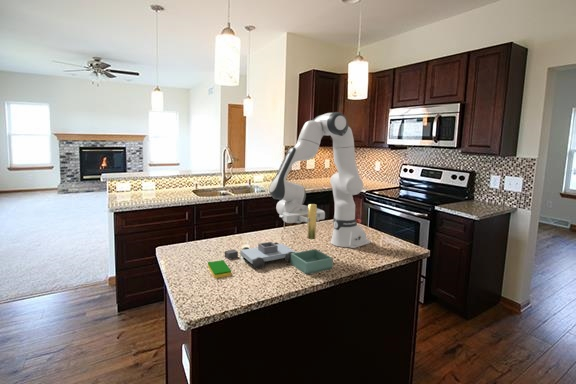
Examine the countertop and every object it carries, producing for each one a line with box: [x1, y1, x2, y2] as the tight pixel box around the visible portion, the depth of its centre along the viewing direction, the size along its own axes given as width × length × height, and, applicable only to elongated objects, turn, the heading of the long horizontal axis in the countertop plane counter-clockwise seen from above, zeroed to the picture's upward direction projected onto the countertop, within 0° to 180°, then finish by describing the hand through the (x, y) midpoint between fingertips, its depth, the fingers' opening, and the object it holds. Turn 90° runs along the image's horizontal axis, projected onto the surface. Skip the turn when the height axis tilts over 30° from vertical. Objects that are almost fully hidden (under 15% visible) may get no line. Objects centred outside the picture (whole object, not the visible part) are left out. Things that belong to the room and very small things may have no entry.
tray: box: [290, 248, 334, 276], centre depth 145 cm, size 14×14×5 cm
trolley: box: [239, 241, 296, 270], centre depth 152 cm, size 22×16×8 cm
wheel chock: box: [224, 249, 239, 260], centre depth 156 cm, size 5×4×3 cm
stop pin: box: [306, 203, 318, 240], centre depth 142 cm, size 4×4×15 cm
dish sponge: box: [207, 259, 232, 279], centre depth 140 cm, size 7×14×2 cm, turn 25°
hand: (313, 219), depth 141 cm, fingers closed on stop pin, 4 cm apart
